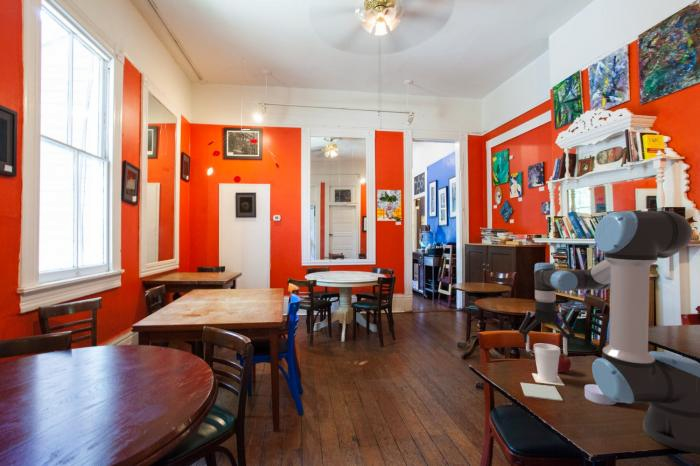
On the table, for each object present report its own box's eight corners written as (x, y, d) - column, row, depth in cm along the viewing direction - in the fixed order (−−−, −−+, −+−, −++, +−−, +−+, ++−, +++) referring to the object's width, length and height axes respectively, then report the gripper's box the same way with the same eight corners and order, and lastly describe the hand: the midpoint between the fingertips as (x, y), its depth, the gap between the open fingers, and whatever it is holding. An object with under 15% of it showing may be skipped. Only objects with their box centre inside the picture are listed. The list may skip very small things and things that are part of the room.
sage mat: (562, 401, 120) (562, 399, 120) (524, 396, 124) (524, 395, 124) (554, 387, 131) (554, 386, 131) (520, 383, 135) (520, 382, 135)
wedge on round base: (626, 398, 122) (582, 391, 128) (625, 379, 122) (582, 373, 128) (634, 409, 114) (587, 401, 119) (633, 389, 114) (586, 382, 120)
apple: (553, 374, 144) (552, 355, 145) (548, 367, 152) (547, 349, 152) (573, 376, 142) (573, 357, 142) (567, 369, 150) (566, 351, 150)
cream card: (564, 385, 133) (564, 385, 133) (535, 382, 136) (535, 381, 136) (558, 376, 142) (558, 375, 142) (531, 373, 146) (531, 372, 146)
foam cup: (564, 384, 134) (563, 350, 134) (539, 382, 135) (538, 349, 136) (555, 375, 143) (554, 343, 143) (531, 373, 145) (530, 342, 145)
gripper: (577, 300, 140) (578, 352, 139) (511, 297, 148) (511, 346, 148) (583, 303, 133) (584, 358, 132) (513, 300, 141) (513, 351, 140)
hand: (546, 352), depth 140 cm, fingers open, 13 cm apart
